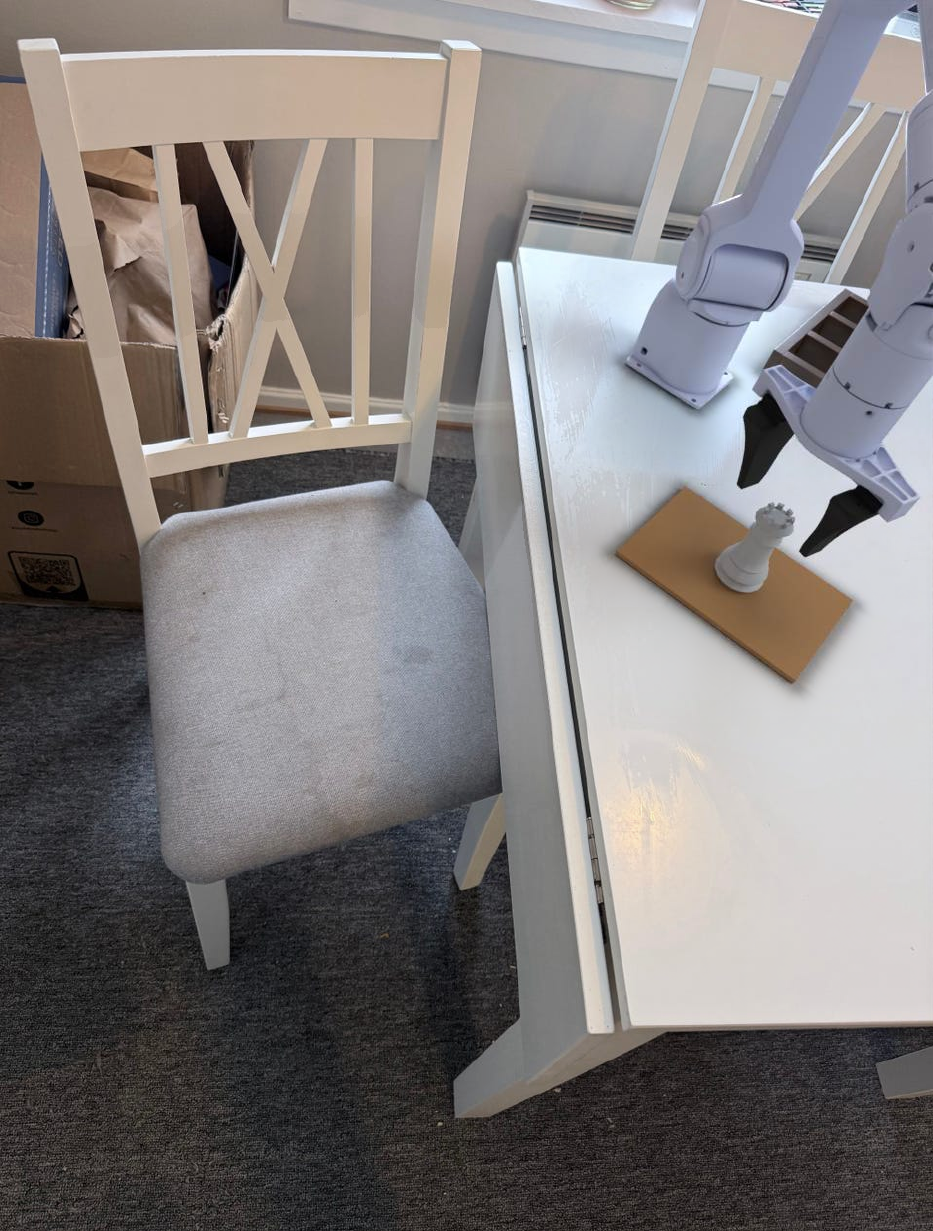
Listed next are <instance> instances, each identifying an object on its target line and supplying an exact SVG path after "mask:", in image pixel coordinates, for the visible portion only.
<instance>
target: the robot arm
mask: <svg viewBox="0 0 933 1231" xmlns="http://www.w3.org/2000/svg"><path fill="white" fill-rule="evenodd" d="M914 6H916V10H917V19H918V26H919V27H918V28H919V29H918V30H919V36H920V47H921V56H922V66H923V77H924V86H925V95H924V96H923V97H922V98H921V99H920V100H919V101H918V102H917V103H916V104H915V106H914V107H913V108H912V110H911V111H910V113H909V115H908V117H907V119H906V123H905V218H904V219H899V220H898V222H897V223H896V226H895V227H894V230H893V232H892V234H891V236H890V238H889V241H888V244H887V246H886V250H885V254H884V258H883V261H882V265H881V269H880V271H879V273H878V275H877V276H876V279H875V280H874V282H873V284H872V285H871V287H870V289H869V294H868V295H867V298H866V300H867V304H868V306H869V308H868V310H867V311H866V313H865V314H864V316H863V317H862V319H861V321H860V322H859V324H858V325H857V327H856V328H855V330H854V331H853V333H852V335H851V336H850V338H849V339H848V341H847V342H846V344H845V345H844V347H843V349H842V350H841V352H840V353H839V355H838V356H837V358H836V359H835V361H834V362H833V364H832V366H831V367H830V369H829V370H828V372H827V373H826V375H825V376H824V378H823V380H822V381H821V383H820V384H819V386H818V387H817V389H816V388H814V387H812V386H811V385H809V384H807V383H806V382H804V381H802V380H801V379H799V378H798V377H796V376H794V375H793V374H792V373H790V372H789V371H788V370H787V369H786V368H784V367H783V366H782V365H778V366H774V367H771V368H767V369H764V370H763V369H762V370H763V371H762V370H761V373H760V374H759V376H758V378H757V380H756V382H755V383H754V385H753V387H752V388H751V390H752V392H754V393H755V394H756V395H757V397H759V398H761V399H760V400H758V401H757V403H755V404H752V405H750V406H747V407H746V409H745V410H744V413H743V415H742V419H743V420H742V421H743V427H744V449H743V455H742V460H741V465H740V470H739V473H738V476H737V481H736V486H737V487H738V488H739V489H740V490H744V489H746V488H749V487H752V486H755V485H758V484H760V483H761V481H763V479H764V478H765V476H766V475H767V474H768V472H769V470H770V469H771V468H772V466H773V464H774V463H775V461H776V459H777V458H778V456H779V455H780V453H781V452H782V450H783V449H784V448H785V446H786V445H787V444H788V443H789V441H790V440H791V439H792V438H793V437H794V435H795V437H796V439H797V440H798V442H799V443H800V444H801V446H802V447H803V448H804V449H805V450H806V451H807V452H809V453H810V454H811V455H813V456H814V457H815V458H816V459H818V460H820V461H822V462H823V463H825V464H826V465H828V466H829V467H831V468H833V469H834V470H836V471H838V472H839V473H841V474H843V475H844V476H845V477H847V478H848V479H850V480H851V481H852V482H853V483H855V485H856V486H855V488H851V489H848V490H845V491H841V492H839V493H836V494H835V495H833V496H831V498H830V499H829V502H828V504H827V507H826V509H825V512H824V514H823V516H822V518H821V519H820V521H819V523H818V524H817V526H816V528H815V529H814V530H813V531H812V532H811V534H810V535H809V536H808V537H807V538H806V539H805V541H804V542H803V543H802V544H801V546H800V548H799V550H798V553H800V555H801V556H802V557H803V558H808V557H810V556H813V555H815V554H817V553H820V552H822V551H823V550H824V549H825V548H826V547H828V545H829V544H831V543H832V542H833V541H834V540H836V539H837V538H838V537H840V536H842V535H843V534H844V533H846V532H847V531H849V530H851V529H853V528H855V527H856V526H859V525H860V524H861V523H864V522H866V521H867V520H869V519H872V518H874V517H876V516H880V517H881V518H882V520H884V521H885V522H886V523H890V522H892V521H895V520H898V519H899V518H901V517H904V516H906V515H907V514H908V513H909V511H910V510H911V509H912V508H913V506H915V504H916V503H917V502H918V501H919V500H920V499H921V498H922V496H921V495H920V494H919V492H917V491H916V490H915V489H914V487H913V486H912V485H911V484H910V482H908V480H907V479H906V477H905V476H904V474H903V473H902V472H901V470H900V468H899V467H898V465H897V464H896V461H895V460H894V458H893V457H892V456H891V454H890V453H889V451H888V449H887V447H886V446H885V445H884V443H883V441H884V439H885V438H886V437H887V436H888V435H889V433H890V432H891V431H892V430H893V429H894V427H895V426H896V424H897V423H898V422H899V420H900V419H901V418H902V416H903V415H904V414H905V412H906V411H907V410H908V409H909V407H910V406H911V405H912V403H913V402H914V401H915V399H916V398H917V397H918V395H919V394H920V393H921V391H922V390H923V389H924V387H925V386H926V385H927V383H928V382H929V381H930V379H932V377H933V0H825V2H824V4H823V6H822V8H821V11H820V13H819V16H818V17H817V20H816V23H815V24H814V27H813V30H812V32H811V33H810V36H809V39H808V41H807V43H806V46H805V48H804V50H803V53H802V55H801V57H800V60H799V62H798V64H797V66H796V69H795V71H794V73H793V76H792V78H791V81H790V83H789V85H788V87H787V90H786V92H785V94H784V97H783V98H782V102H781V103H780V105H779V107H778V109H777V113H776V115H775V117H774V119H773V121H772V124H771V126H770V128H769V131H768V134H767V135H766V138H765V139H764V143H763V145H762V147H761V150H760V152H759V154H758V156H757V159H756V161H755V164H754V165H753V168H752V171H751V173H750V174H749V178H748V179H747V181H746V184H745V186H744V189H743V191H742V192H741V193H740V194H738V195H735V196H733V197H731V198H727V199H726V200H722V201H721V202H718V203H715V204H713V205H710V206H708V207H705V209H703V210H702V213H701V215H700V216H699V218H698V220H697V221H696V224H695V226H694V227H693V229H692V231H691V233H690V234H689V235H688V236H687V238H686V239H685V240H684V242H683V245H682V247H681V249H680V252H679V255H678V259H677V263H676V268H675V276H673V277H672V278H671V279H669V280H668V281H667V282H665V284H664V285H663V286H662V287H661V288H660V290H659V291H658V293H657V294H656V295H655V298H654V300H653V301H652V303H651V304H650V306H649V309H648V311H647V314H646V316H645V319H644V321H643V323H642V326H641V328H640V331H639V333H638V336H637V338H636V340H635V344H634V346H633V349H632V351H631V353H630V355H629V356H628V357H627V358H626V360H625V364H626V365H627V366H628V367H630V368H631V369H633V370H635V371H636V372H638V373H640V375H643V376H644V377H645V378H647V379H649V380H650V381H652V382H653V383H655V384H656V385H658V386H659V387H660V388H662V389H664V390H665V391H666V392H668V393H670V394H672V395H674V396H675V397H677V398H678V399H680V400H681V401H683V402H684V403H686V404H687V405H688V406H690V407H692V408H693V409H695V410H700V409H701V408H702V407H704V406H705V405H706V404H707V403H708V402H709V401H711V400H712V399H713V398H714V397H715V396H716V395H718V394H719V393H720V392H721V391H723V389H725V387H727V386H728V385H729V384H730V383H732V381H733V380H734V375H733V374H732V373H730V372H728V371H727V369H728V367H729V364H730V363H731V361H732V360H733V357H734V355H735V353H736V351H737V349H738V347H739V346H740V344H741V342H742V340H743V339H744V336H745V334H746V332H747V330H748V328H749V326H750V325H751V322H760V319H761V317H762V316H763V314H764V313H772V312H773V311H775V310H776V309H777V308H778V307H779V306H780V305H781V304H782V303H783V302H784V301H785V300H786V298H787V297H788V295H789V293H790V291H791V289H792V287H793V283H794V280H795V278H796V277H795V276H796V273H797V272H796V271H797V269H798V265H799V262H800V260H801V258H802V255H803V253H804V250H805V241H804V236H803V233H802V230H801V228H800V225H798V223H797V221H796V220H795V218H794V217H795V214H796V213H797V210H798V208H799V206H800V204H801V203H802V200H803V198H804V196H805V194H806V192H807V190H808V188H809V186H810V184H811V181H812V180H813V178H814V176H815V174H816V172H817V169H818V168H819V166H820V164H821V162H822V160H823V157H824V155H825V154H826V151H827V150H828V147H829V145H830V143H831V142H832V140H833V137H834V135H835V133H836V131H837V129H838V127H839V125H840V123H841V121H842V118H843V117H844V115H845V113H846V111H847V109H848V107H849V104H850V102H851V101H852V99H853V97H854V94H855V92H856V90H857V88H858V86H859V85H860V82H861V80H862V78H863V76H864V74H865V73H866V70H867V68H868V66H869V65H870V62H871V60H872V58H873V56H874V54H875V52H876V50H877V48H878V45H879V44H880V41H881V39H882V37H883V36H884V33H885V32H886V29H887V27H888V25H889V23H890V22H891V21H892V20H893V19H894V18H895V17H897V16H899V15H901V14H903V13H904V12H906V11H907V10H909V9H911V8H912V7H914Z"/></svg>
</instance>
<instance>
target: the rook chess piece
mask: <svg viewBox="0 0 933 1231" xmlns="http://www.w3.org/2000/svg"><path fill="white" fill-rule="evenodd" d="M775 505H776V506H775ZM784 507H785V504H784V503H781V502H778V503H777V504H775V502H774V501H773V502H769V503H768V504H767V505H766V506H763V507H760V508H758V510H757V511H756V512H755V517H754V519H755V521H753V522H752V523H751V525H750V527H749V530H750V532H749V533H748V535H747V536H746V537H745V538H744V539H743V540H742V541H741V542H739V543H736V544H734V545H732V546H729V547H728V548H726V549H725V550H724V551H723V552H722V553H721V555H720V556H719V557H718V558H717V559H716V563H715V569H716V572H717V576H718V578H719V579H720V581H721V582H722V583H723V584H724V585H725V586H726V587H728V588H729V589H731V590H734V591H736V592H742V593H750V592H753V591H756V590H758V589H759V588H760V587H761V586H762V585H763V582H764V581H765V579H766V578H767V575H768V570H769V567H768V565H769V561H768V560H769V558H770V556H771V554H772V552H773V550H774V548H775V547H776V548H777V547H779V546H780V545H781V544H782V543H783V538H786V537H789V536H791V535H792V534H793V533H794V530H795V529H794V528H795V525H794V524H795V521H796V516H793V514H794V511H793V510H792V509H791V508H787V510H785V509H784Z"/></svg>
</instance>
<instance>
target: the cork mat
mask: <svg viewBox="0 0 933 1231" xmlns="http://www.w3.org/2000/svg"><path fill="white" fill-rule="evenodd" d="M749 532H750V528H748V527H747V526H746V525H744V524H742V523H741V522H739V521H738V520H736V519H735V518H733V517H732V516H730V515H729V514H727V513H726V512H725V511H723V510H722V509H721V508H719V507H718V506H716V505H714V503H711V502H710V501H709V500H707V499H705V498H704V497H703V496H701V495H700V494H698V493H696V492H695V491H694V490H693V489H691V488H689V487H688V486H686V485H685V486H684V487H683V488H682V489H681V490H679V492H677V494H675V496H673V498H671V499H670V500H669V501H668V502H667V503H666V504H665V505H664V506H663V507H662V508H661V509H659V511H658V512H656V513H655V515H653V516H652V517H651V518H650V519H649V520H648V521H647V522H646V523H645V524H644V525H643V526H642V527H640V529H638V530H637V532H635V533H634V534H633V535H632V536H631V537H630V538H629V539H628V540H627V541H626V542H625V543H624V544H622V546H620V548H619V549H617V551H616V552H615V556H617V557H618V558H619V559H621V560H622V561H624V562H625V563H627V565H629V566H631V567H632V568H633V569H635V570H636V571H637V572H639V573H640V574H641V575H642V576H644V577H645V578H647V579H648V580H650V581H652V583H653V584H655V585H657V586H658V587H659V588H661V589H662V590H663V591H665V592H666V593H668V594H669V595H671V596H672V597H673V598H675V599H676V600H677V601H679V602H680V603H681V604H683V605H684V606H685V607H687V608H688V609H690V610H691V611H692V612H694V613H695V614H697V615H698V616H699V617H700V618H702V619H703V620H704V621H706V622H708V624H710V625H711V626H713V627H714V628H716V629H717V630H718V631H720V632H721V633H723V634H724V635H725V636H726V637H727V638H729V639H731V640H732V641H734V642H735V643H736V644H737V645H738V646H740V647H741V648H742V649H745V650H746V651H747V652H749V653H750V654H751V655H752V656H754V657H756V659H758V660H760V661H761V662H762V663H763V664H765V665H766V666H767V667H769V668H771V669H772V671H773V670H774V671H775V672H776V673H777V674H779V675H780V676H782V677H783V678H785V679H786V680H787V681H789V682H790V683H791V684H794V683H795V682H796V681H797V679H799V676H800V675H801V674H802V673H803V671H804V670H805V668H807V665H808V664H810V662H811V660H812V658H813V657H814V656H815V654H816V653H817V652H818V650H819V649H820V647H821V646H822V644H823V643H824V642H825V640H826V639H827V637H828V636H829V635H830V633H831V632H832V631H833V629H834V628H835V626H836V625H837V624H838V622H839V621H840V619H841V618H842V617H843V615H844V614H845V612H846V611H847V609H848V608H849V607H850V605H851V604H852V602H853V601H854V600H853V599H852V598H851V597H850V596H848V595H846V594H845V593H844V592H842V591H841V590H839V589H837V588H836V587H834V586H833V585H832V584H831V583H829V582H827V581H826V580H824V579H823V578H822V577H820V576H818V575H817V574H816V573H814V572H812V571H811V570H810V569H809V568H807V567H805V566H804V565H802V564H801V563H800V562H798V561H797V560H795V559H793V558H792V557H791V556H789V555H788V554H786V553H785V552H783V551H782V550H780V548H778V547H777V546H776V547H775V548H774V550H773V552H772V554H771V556H770V558H769V560H768V561H769V565H768V567H769V570H768V575H767V578H766V579H765V581H764V582H763V585H762V586H761V587H760V588H759V589H758V590H756V591H753V592H750V593H742V592H736V591H734V590H731V589H729V588H728V587H726V586H725V585H724V584H723V583H722V582H721V581H720V579H719V578H718V576H717V572H716V569H715V563H716V559H717V558H718V557H719V556H720V555H721V553H722V552H723V551H724V550H725V549H726V548H728V547H729V546H732V545H734V544H736V543H739V542H741V541H742V540H743V539H744V538H745V537H746V536H747V535H748V533H749Z"/></svg>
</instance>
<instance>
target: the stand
mask: <svg viewBox="0 0 933 1231" xmlns="http://www.w3.org/2000/svg"><path fill="white" fill-rule="evenodd" d="M868 308H869V306H868V304H867V299H865V298H863V297H862V296H860V295H858V294H856V293H855V292H852V291H851V290H849V289H847V288H846V287H844V288H843V289H842V290H841V291H840V292H838V293H837V294H836V295H835V296H834V297H833V298H832V299H830V300H829V301H828V302H827V303H825V305H824V306H822V307H821V308H820V309H818V311H816V312H815V313H814V314H813V315H812V316H811V317H809V319H807V320H806V321H805V322H804V323H803V324H801V325H800V326H799V327H798V328H797V329H796V330H795V331H794V332H793V333H791V334H790V335H789V336H788V337H787V338H786V339H784V340H783V341H782V342H781V343H779V345H777V346H776V347H775V348H774V349H773V350H772V352H771V354H770V356H769V357H768V359H767V361H766V362H765V365H764V366H763V368H762V370H761V372H762V371H763V370H764V369H767V368H771V367H774V366H778V365H782V366H783V367H784V368H786V369H787V370H788V371H789V372H790V373H792V374H793V375H794V376H796V377H798V378H799V379H801V380H802V381H804V382H806V383H807V384H809V385H811V386H812V387H814V388H816V389H817V387H818V386H819V384H820V383H821V381H822V380H823V378H824V376H825V375H826V373H827V372H828V370H829V369H830V367H831V366H832V364H833V362H834V361H835V359H836V358H837V356H838V355H839V353H840V352H841V350H842V349H843V347H844V345H845V344H846V342H847V341H848V339H849V338H850V336H851V335H852V333H853V331H854V330H855V328H856V327H857V325H858V324H859V322H860V321H861V319H862V317H863V316H864V314H865V313H866V311H867V310H868Z"/></svg>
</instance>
